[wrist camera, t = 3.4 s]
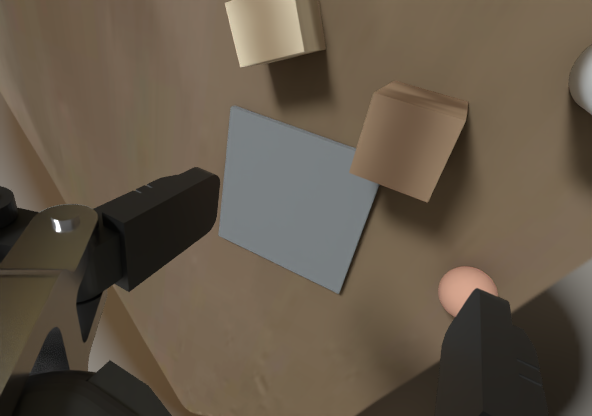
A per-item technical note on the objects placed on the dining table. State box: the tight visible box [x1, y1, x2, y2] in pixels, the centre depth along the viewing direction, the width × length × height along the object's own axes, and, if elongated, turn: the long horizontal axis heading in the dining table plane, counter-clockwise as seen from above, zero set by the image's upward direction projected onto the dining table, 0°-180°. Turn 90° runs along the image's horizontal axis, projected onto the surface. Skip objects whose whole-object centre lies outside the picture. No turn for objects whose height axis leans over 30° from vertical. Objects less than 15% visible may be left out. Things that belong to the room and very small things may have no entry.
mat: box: [219, 106, 380, 294], centre depth 32 cm, size 14×14×1 cm
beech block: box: [225, 0, 326, 67], centre depth 24 cm, size 5×4×4 cm
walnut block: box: [349, 81, 468, 203], centre depth 22 cm, size 5×5×6 cm
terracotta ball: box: [438, 266, 498, 317], centre depth 26 cm, size 4×4×4 cm
